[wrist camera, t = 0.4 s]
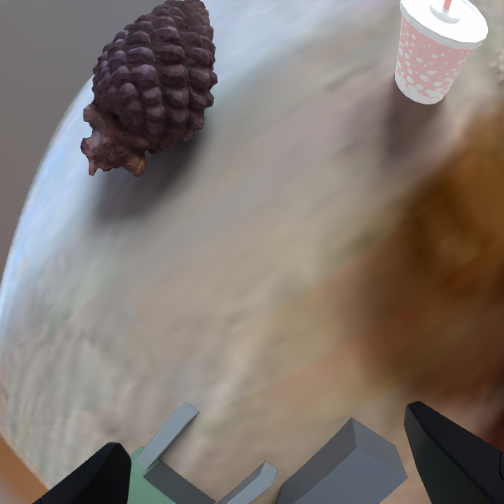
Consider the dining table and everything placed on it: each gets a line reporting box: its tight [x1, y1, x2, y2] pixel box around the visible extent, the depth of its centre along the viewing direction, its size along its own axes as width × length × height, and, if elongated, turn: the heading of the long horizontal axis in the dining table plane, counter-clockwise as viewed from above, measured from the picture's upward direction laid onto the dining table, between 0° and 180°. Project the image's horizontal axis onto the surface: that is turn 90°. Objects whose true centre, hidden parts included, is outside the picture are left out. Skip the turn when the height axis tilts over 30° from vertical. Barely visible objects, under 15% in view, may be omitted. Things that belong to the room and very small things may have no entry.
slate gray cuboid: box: [277, 418, 408, 504], centre depth 17 cm, size 4×8×5 cm, turn 143°
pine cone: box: [80, 0, 217, 177], centre depth 21 cm, size 18×10×10 cm, turn 161°
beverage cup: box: [395, 0, 488, 104], centre depth 14 cm, size 6×6×14 cm
